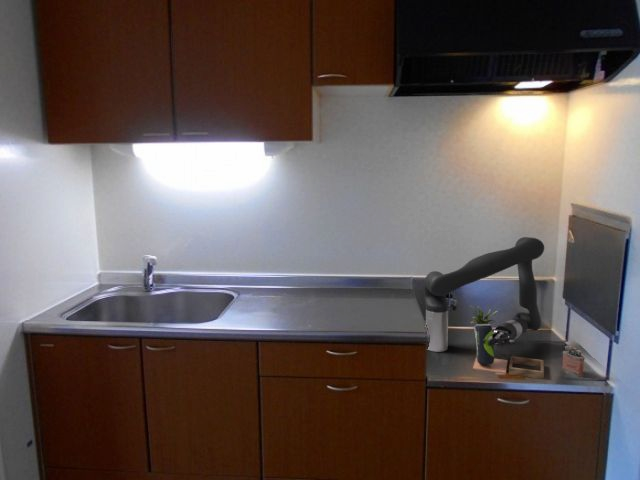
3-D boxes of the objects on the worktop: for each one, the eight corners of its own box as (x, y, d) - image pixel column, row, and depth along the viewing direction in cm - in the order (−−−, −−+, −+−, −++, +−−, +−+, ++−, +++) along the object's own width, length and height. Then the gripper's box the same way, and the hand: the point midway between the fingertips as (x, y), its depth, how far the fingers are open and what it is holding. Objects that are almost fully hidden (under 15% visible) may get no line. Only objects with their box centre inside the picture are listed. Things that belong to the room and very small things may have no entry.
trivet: (472, 369, 192) (472, 367, 192) (476, 357, 203) (476, 356, 203) (505, 373, 188) (505, 372, 188) (507, 361, 199) (507, 360, 198)
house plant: (455, 339, 223) (456, 304, 221) (474, 332, 232) (475, 298, 229) (483, 349, 212) (484, 312, 209) (502, 341, 220) (503, 305, 218)
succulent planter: (585, 376, 184) (587, 350, 183) (579, 378, 183) (581, 352, 181) (565, 368, 191) (566, 343, 190) (559, 370, 190) (561, 345, 188)
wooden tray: (508, 374, 187) (508, 367, 187) (510, 362, 198) (510, 356, 198) (543, 379, 183) (543, 372, 182) (543, 366, 194) (543, 360, 193)
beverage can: (474, 362, 197) (472, 324, 198) (489, 362, 197) (487, 323, 199) (481, 364, 190) (479, 325, 192) (497, 364, 191) (494, 324, 193)
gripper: (493, 318, 207) (470, 329, 196) (525, 326, 197) (503, 337, 185) (493, 335, 208) (470, 347, 197) (524, 344, 198) (502, 356, 187)
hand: (486, 342), depth 191 cm, fingers closed on beverage can, 1 cm apart
